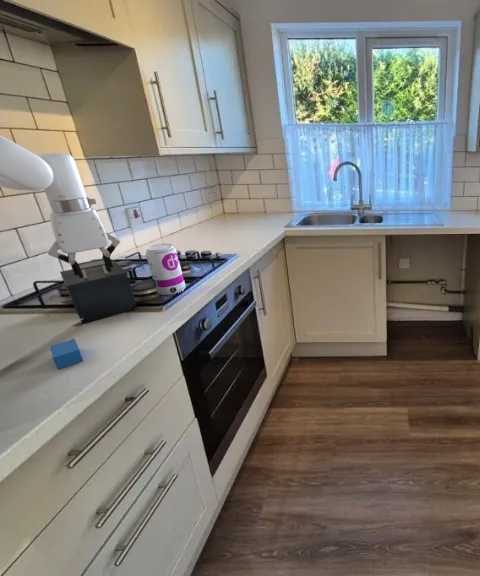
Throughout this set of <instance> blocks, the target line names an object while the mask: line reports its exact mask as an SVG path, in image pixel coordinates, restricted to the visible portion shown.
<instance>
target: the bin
mask: <svg viewBox="0 0 480 576" xmlns="http://www.w3.org/2000/svg"><path fill="white" fill-rule="evenodd" d="M62 281H63V283H64V286H65V288H66V290H67V293H68V295H69V298H70V301H71V303H72V305H73V307H74V309H75V311H76V313H77V316H78V318H79V319H80V320H79V321H80V323H81V325H82V326H83V325H87V324H91V323H94V322H97V321H101V320H105V319H107V318H111V317H114V316H119V315H121V314H125V313H129V312H132V311H136V309H135V308H138V309H139V307H138V305H137V301H136V298H135V295H134V292H133V289H132V286H131V282H130V280H129V278H128V274H127V275H125V276H121V277H116V278H112V279H108V280H104V281H99V282H95V283H91V284H86V285H82V286H78V287H74V288H69V289H68V288H67V286H66V284H65V282H64V280H63V279H62Z"/></svg>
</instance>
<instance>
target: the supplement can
mask: <svg viewBox="0 0 480 576" xmlns="http://www.w3.org/2000/svg"><path fill="white" fill-rule="evenodd" d="M145 257H146V261H147V263H148V267H149V270H150V273H151V277H152V281H153V284H154V287H155V290H156V293H157V294H159V295H160V294H161V295H160V296H163V295H168V296H174V295H177V294H176V293H178V294H180V293H182V292H184V290H185V289H186V287H187V286H186V283H185V279H184V276H183V271H182V268H181V264H180V259H179V256H178V251H177V249H176V248H175V246H174V245H173V244H172V243H159V244H158V243H157V244H154V245H150V246H148V247H146V251H145ZM181 291H182V292H181ZM179 292H180V293H179ZM173 294H174V295H173Z"/></svg>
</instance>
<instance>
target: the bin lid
mask: <svg viewBox="0 0 480 576" xmlns="http://www.w3.org/2000/svg"><path fill="white" fill-rule="evenodd" d="M111 262H112V265H113V267H111V270H112V271H111V272H108V271H107V269H106V267H105V265H106V264H105V261H104V259H103V258H98V259H94V260H87V261H83V262H77V263H78V265H79V267H80V270H81V272H82V275H83V277H82V278H80V277H79V276H78V275H75V274H74V272H73V269H72V268H71V269H66V270H61V271H59V273H60V275H61V278H62V281H63V280H64V281H63V283H64V282H65V283H64V285H65V284H66V286H67V288H68V289H69V288H74V287H78V286H82V285H86V284H91V283H95V282H99V281H104V280H108V279H112V278H116V277H121V276H125V275H127V276H128V272H127V271H126V270H125V269H124V268H123V267H122V266H121V265H120V264H119V263H118V262H117V261H116V260H111ZM66 286H65V287H66ZM67 288H66V289H67Z"/></svg>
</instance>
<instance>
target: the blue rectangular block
mask: <svg viewBox="0 0 480 576" xmlns="http://www.w3.org/2000/svg"><path fill="white" fill-rule="evenodd" d="M49 350H50V353H51V358H52V360H53V362H54V364H55V366H56V368H57V370H60V369H63V368H67V367H69V366H72V365H73V366H74V365H75V364H79V363H81V362H84V358H83V356H82V354H81V351H80V348H79V346H78V344H77V341H76V339H75V338H72V339H67V340H65V341H61V342H58V343H55V344H52V345H49Z"/></svg>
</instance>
